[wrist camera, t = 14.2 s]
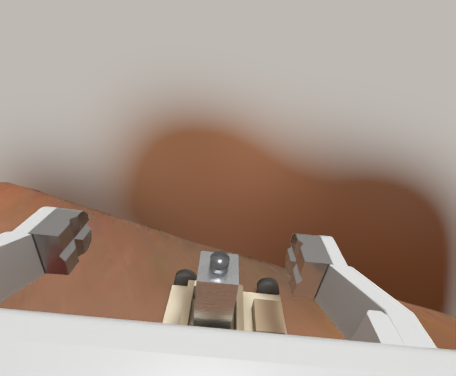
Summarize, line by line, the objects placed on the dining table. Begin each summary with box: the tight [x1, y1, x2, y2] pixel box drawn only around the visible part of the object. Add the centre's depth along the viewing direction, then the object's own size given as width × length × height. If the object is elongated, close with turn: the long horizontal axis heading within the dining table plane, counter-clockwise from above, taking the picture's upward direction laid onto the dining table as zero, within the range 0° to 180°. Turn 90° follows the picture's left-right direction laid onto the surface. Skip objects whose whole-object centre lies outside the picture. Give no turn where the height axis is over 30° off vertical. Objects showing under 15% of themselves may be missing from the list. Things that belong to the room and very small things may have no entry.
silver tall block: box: [193, 251, 239, 329], centre depth 34 cm, size 5×5×12 cm
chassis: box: [163, 269, 287, 335], centre depth 37 cm, size 18×14×4 cm
